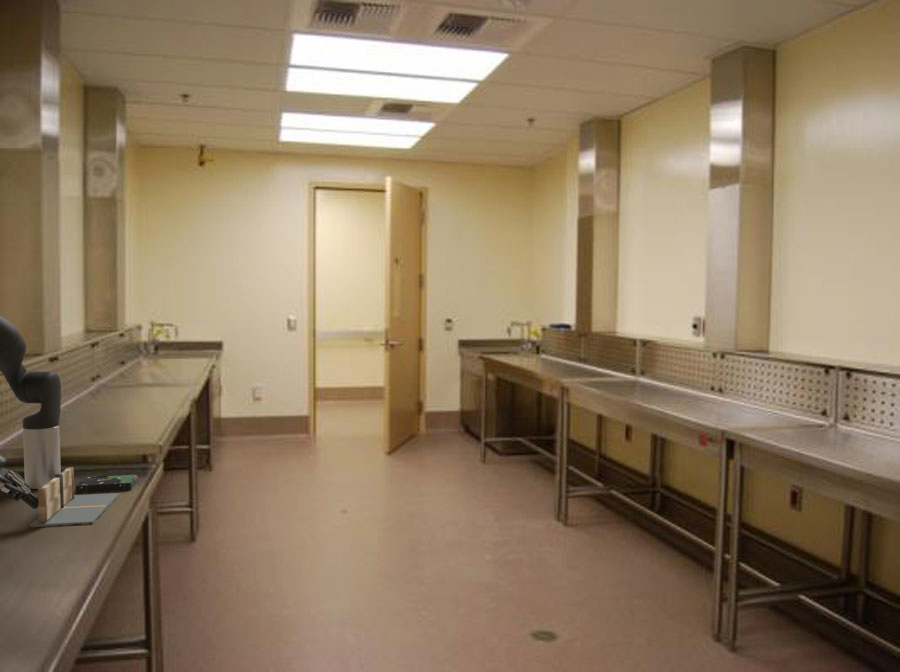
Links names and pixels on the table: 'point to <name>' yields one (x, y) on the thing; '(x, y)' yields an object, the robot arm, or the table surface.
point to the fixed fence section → (66, 485)
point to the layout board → (79, 510)
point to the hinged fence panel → (49, 499)
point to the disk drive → (107, 483)
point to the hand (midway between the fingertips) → (39, 505)
